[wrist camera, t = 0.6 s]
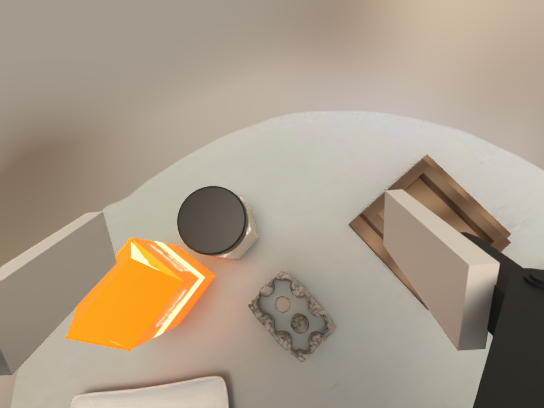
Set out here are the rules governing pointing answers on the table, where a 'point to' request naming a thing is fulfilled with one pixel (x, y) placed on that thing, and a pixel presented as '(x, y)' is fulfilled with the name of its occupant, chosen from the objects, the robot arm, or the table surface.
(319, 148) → the table surface
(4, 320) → the robot arm
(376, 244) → the walnut stand
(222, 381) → the salad plate
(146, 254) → the orange juice
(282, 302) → the egg carton
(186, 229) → the jar
